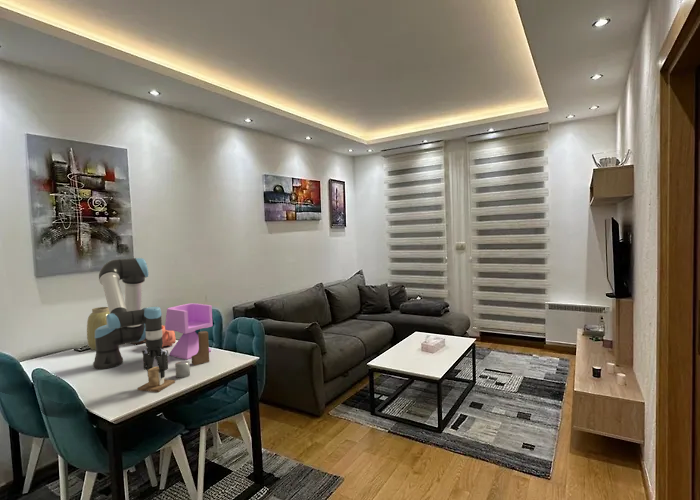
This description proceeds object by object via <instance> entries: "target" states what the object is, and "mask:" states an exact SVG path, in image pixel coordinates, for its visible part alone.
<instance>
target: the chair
mask: <svg viewBox="0 0 700 500" xmlns="http://www.w3.org/2000/svg"><path fill="white" fill-rule="evenodd" d="M213 325H214V324H213V307H212V304H211V305H210V304H205V303H204V304H202V303H197V302H196V303H184V304H181V305H174V306H171V307H168V308H166V315H165V323H164V326H165V330H168V331H174V332H178V333H180V334H182V335H181V336H180V337H179V339H178V341H177V342H175V344H174V346H173V348H171V350H170V352H169V357H175V358H179V359H181V358H182V360H185V359H186V360H185V361H188V359H189V360H192V356H194V355H196V354H197V353H198V351H199V340H198V333H197V332H196V331H198V330H201V329H208V328H211V327H213ZM211 352H212V349H211V348H210V347H209V353H211Z"/></svg>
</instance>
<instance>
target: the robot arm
mask: <svg viewBox="0 0 700 500" xmlns="http://www.w3.org/2000/svg"><path fill="white" fill-rule="evenodd" d="M147 264H148V263H147V262H146V260H145V259H144V258H142V257H141V258H140V257H138V258H137V257H135V258H132V257H131V258H120V259H119V258H118V259H111V260H109V261H108V262H106V263H105V264H104V265H103V266H102V267H101V268H100V270H99V273H98V281H99V284H101V285H102V287H103V291H104V296H105V300H106V304H107V307H108V308H109V312H110V314H108V315H107V317H106V321H107V325H104V326H101V327H99V328H97V329H96V330H95V344H96V350H95V356H94V359H93V360H94V361H93V363H92V368H93V369H95V370H106V369H111V368H115V367H119V366H121V365H122V364H123V363H124V358H123V356H122V354H121V351H120V346H122V345H128V344H131V343H134V342H139V341H143V340H144V339H145V338H146V343H145V346H146V348H144V349H143V350H141V353H142V356H143V357H142V358H143V360H142V361H143V363H142V364H143V370H145V371H147V372H148V370H149V369H151V368H153V367H154V361H155V360H156V362H157V367H159V370H160V371H159V372H158V375H159V385H161V384H163V383H164V379H165V375H166V374H165V371H168V369H169V363H168V362H169V361H168V354H169V350H167V349H166V350H164V347H163V348H162V345H163V338H162V325H163V323H162V321H163V320H162V309H161V307H160V306H150V307H144V308H142V302H143V301H142V298H143V297H142V296H143V293H142V291H143V290H142V289H143V283H144V282H145V280H146V278H148V277H149V269H148V265H147ZM120 281H121V282H122V283H123V284H124V295H123V292H122V288H121V285H120Z"/></svg>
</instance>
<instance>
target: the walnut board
mask: <svg viewBox="0 0 700 500" xmlns="http://www.w3.org/2000/svg"><path fill="white" fill-rule="evenodd" d="M175 383H176V380H173V379H166V378H164V383H163V384H161V385H159V386H149V381H147V382H146V383H144V384H143V385H140V386H138V387H137V391H142V392H151V393H153V392H154V393H159V392H161V391H163V390H165V389H166V388H168V387H170V386H171V385H174V384H175Z"/></svg>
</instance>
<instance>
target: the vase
mask: <svg viewBox="0 0 700 500" xmlns="http://www.w3.org/2000/svg"><path fill="white" fill-rule="evenodd" d="M108 314H110V312H109V308H108V306H99V307H93V308H92V309H91V313H90V314H89V315H88V318H87V322H86V340H87V345H88V347H89V349H90V350H92V351H96V344H95V330H96V329H97V328H99V327H101V326H104V325H107V321H106V317H107V315H108Z"/></svg>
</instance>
